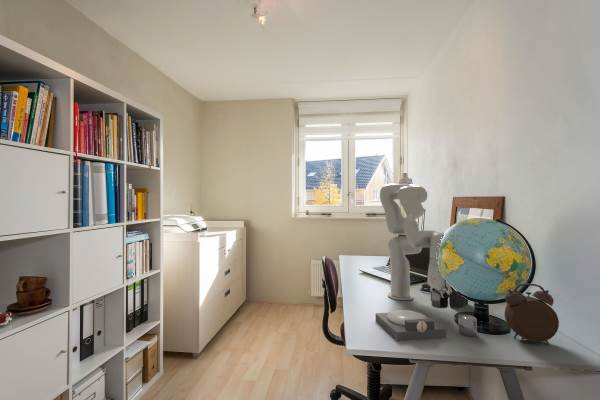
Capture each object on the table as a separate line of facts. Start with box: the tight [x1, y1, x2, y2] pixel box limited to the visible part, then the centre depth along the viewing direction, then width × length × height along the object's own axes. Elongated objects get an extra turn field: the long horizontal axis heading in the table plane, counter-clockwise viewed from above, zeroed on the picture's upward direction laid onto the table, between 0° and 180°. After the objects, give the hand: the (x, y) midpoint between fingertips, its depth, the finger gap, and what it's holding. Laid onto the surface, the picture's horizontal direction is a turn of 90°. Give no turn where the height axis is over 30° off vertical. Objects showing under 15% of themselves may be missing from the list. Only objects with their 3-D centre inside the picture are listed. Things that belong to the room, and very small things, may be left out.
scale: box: [375, 309, 448, 342], centre depth 114 cm, size 19×19×6 cm
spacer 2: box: [457, 314, 478, 338], centre depth 109 cm, size 6×6×6 cm
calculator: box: [448, 287, 469, 309], centre depth 140 cm, size 11×4×15 cm, turn 123°
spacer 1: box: [431, 290, 448, 309], centre depth 125 cm, size 6×6×6 cm
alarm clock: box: [504, 282, 560, 345], centre depth 102 cm, size 14×7×20 cm, turn 78°
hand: (439, 303), depth 125 cm, fingers closed on spacer 1, 6 cm apart
